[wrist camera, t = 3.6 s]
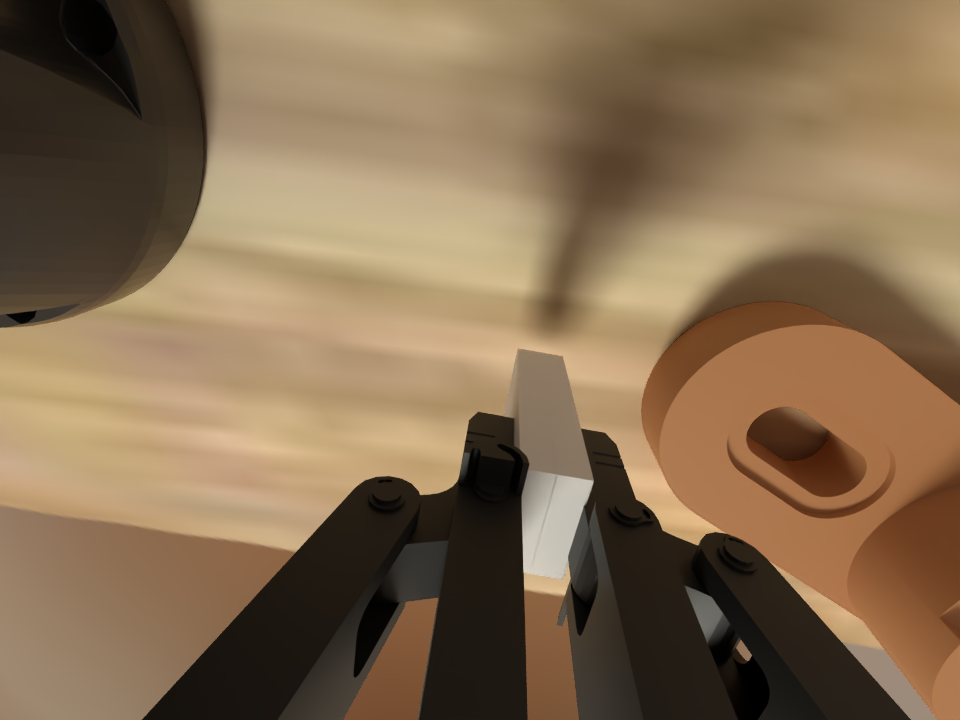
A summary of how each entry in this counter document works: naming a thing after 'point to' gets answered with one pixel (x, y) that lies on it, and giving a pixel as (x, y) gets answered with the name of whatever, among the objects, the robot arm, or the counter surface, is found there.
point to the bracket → (825, 472)
